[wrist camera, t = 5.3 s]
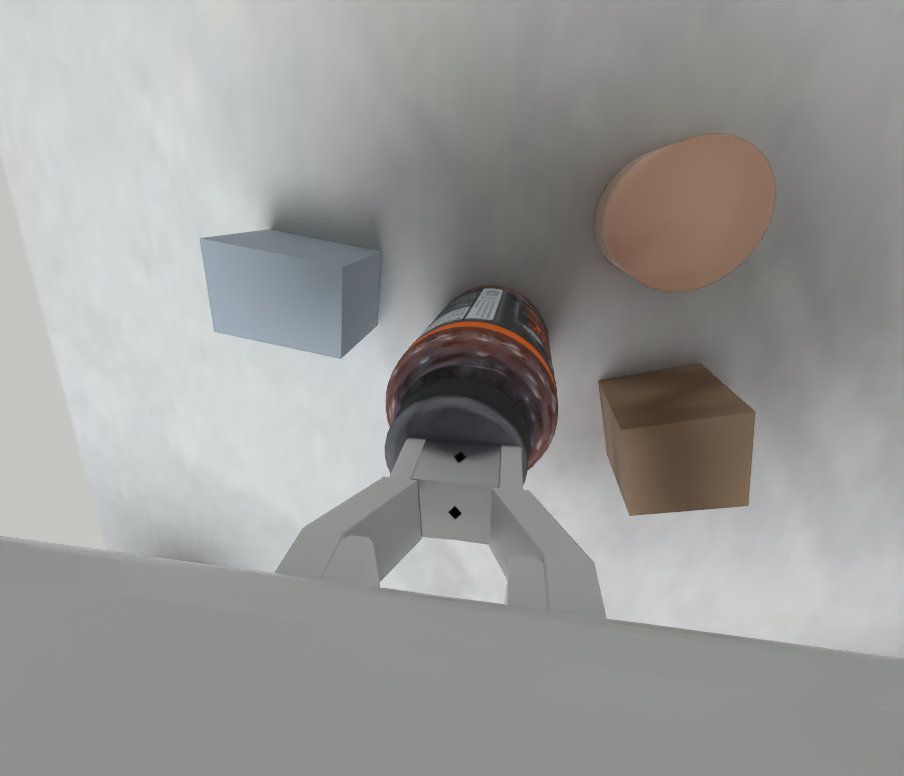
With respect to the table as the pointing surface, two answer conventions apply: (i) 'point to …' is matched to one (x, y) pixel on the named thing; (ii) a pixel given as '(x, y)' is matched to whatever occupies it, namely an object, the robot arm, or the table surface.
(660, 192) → the peach rounded cylinder
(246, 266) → the slate block
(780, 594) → the table surface
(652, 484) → the walnut cube
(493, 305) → the supplement bottle
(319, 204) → the table surface
